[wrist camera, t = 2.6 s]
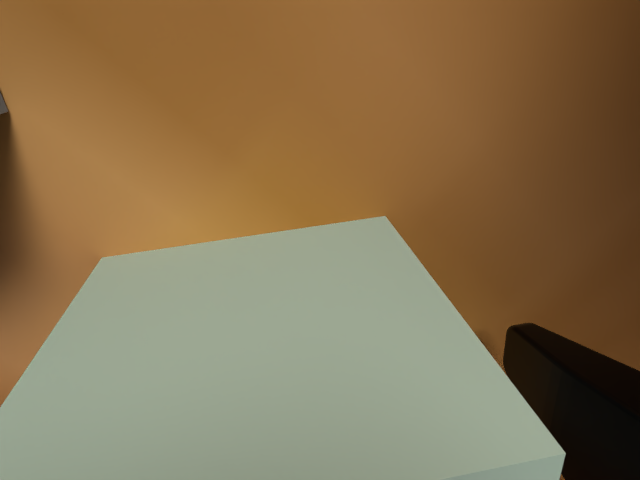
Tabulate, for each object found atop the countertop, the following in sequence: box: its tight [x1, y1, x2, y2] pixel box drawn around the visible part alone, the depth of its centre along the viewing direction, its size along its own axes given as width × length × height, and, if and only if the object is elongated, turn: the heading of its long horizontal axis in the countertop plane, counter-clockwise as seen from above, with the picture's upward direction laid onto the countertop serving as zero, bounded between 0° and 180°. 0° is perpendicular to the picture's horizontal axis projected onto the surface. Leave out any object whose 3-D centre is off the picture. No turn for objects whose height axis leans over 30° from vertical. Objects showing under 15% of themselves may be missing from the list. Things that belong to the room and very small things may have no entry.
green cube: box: [0, 216, 566, 480], centre depth 6 cm, size 5×5×5 cm
